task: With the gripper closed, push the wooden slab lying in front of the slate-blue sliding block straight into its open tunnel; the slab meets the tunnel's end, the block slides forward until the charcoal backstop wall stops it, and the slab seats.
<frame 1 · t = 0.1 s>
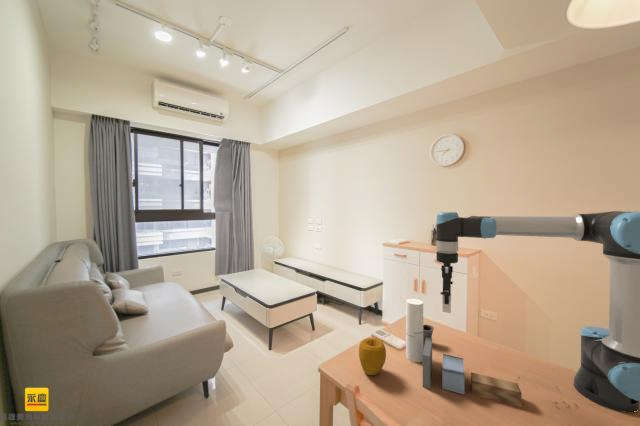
hand: (447, 305, 98), 28 cm above the table, fingers open, 13 cm apart
pipe: (422, 344, 122), on the table
wooden slab: (494, 395, 89), on the table
cylindrical container: (414, 357, 111), on the table
block: (453, 372, 94), point 4 cm above the table, slide at 0.0 cm
wall: (427, 376, 99), on the table
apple: (372, 372, 102), on the table
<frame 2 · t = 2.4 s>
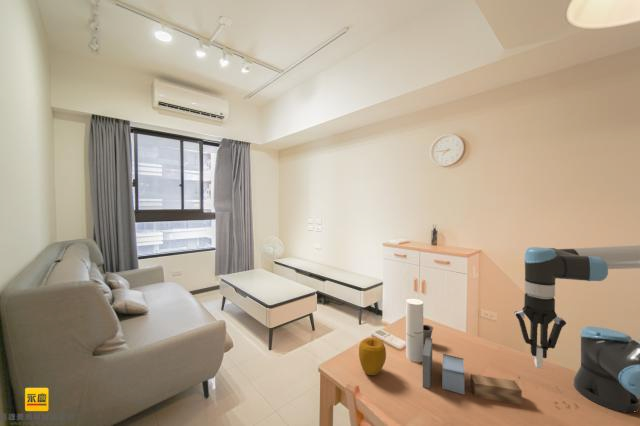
hand: (538, 365, 83), 14 cm above the table, fingers closed
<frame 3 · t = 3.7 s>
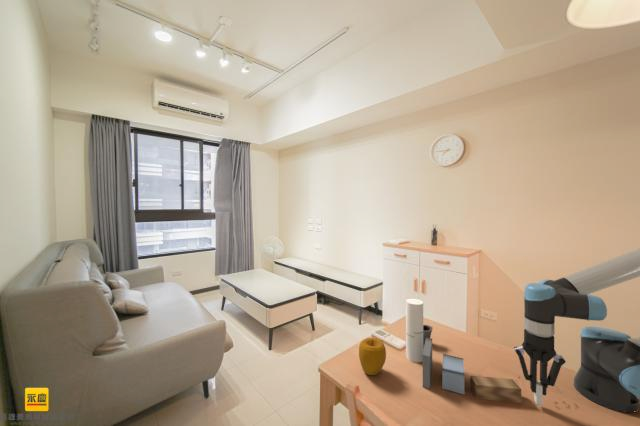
hand: (538, 402, 83), 2 cm above the table, fingers closed
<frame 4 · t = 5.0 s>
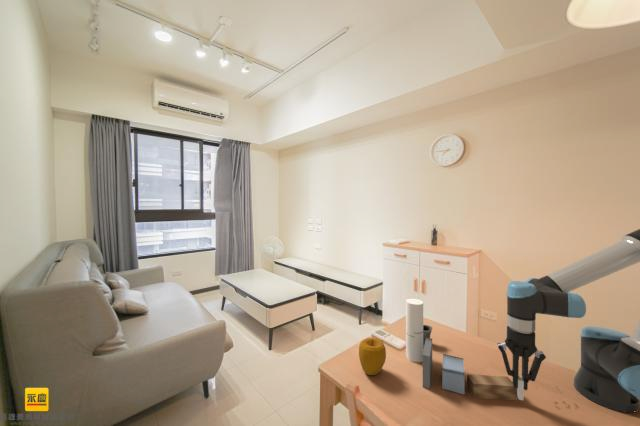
hand: (519, 397, 85), 2 cm above the table, fingers closed
wooden slab: (490, 393, 89), on the table, touching gripper
everything else where it was.
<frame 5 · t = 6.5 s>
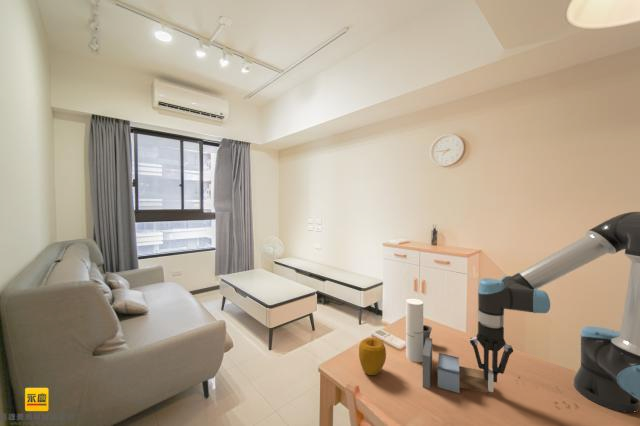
hand: (490, 389, 89), 2 cm above the table, fingers closed
wooden slab: (464, 383, 94), on the table, touching gripper
block: (448, 371, 95), point 4 cm above the table, slide at 1.5 cm
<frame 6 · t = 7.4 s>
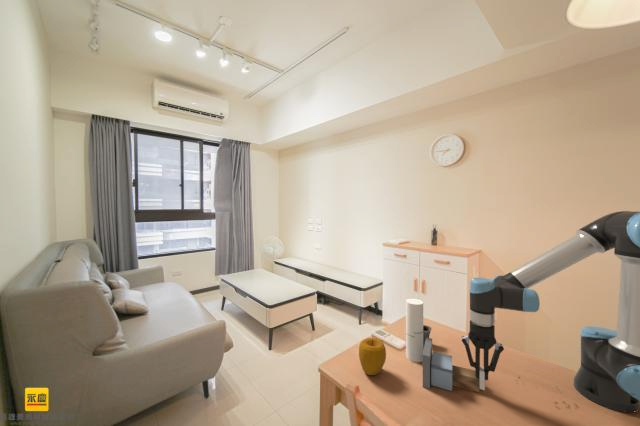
hand: (481, 387, 90), 2 cm above the table, fingers closed
wooden slab: (456, 382, 95), on the table
block: (441, 370, 96), point 4 cm above the table, slide at 3.8 cm
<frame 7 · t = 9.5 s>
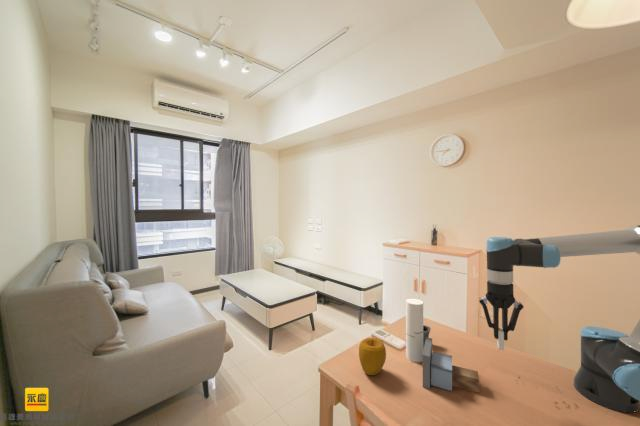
hand: (500, 348, 88), 17 cm above the table, fingers closed
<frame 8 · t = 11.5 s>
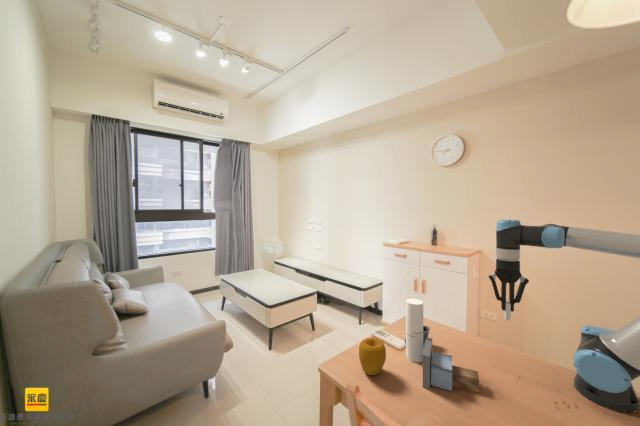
hand: (507, 318, 99), 22 cm above the table, fingers closed
at the end: block slide at 3.8 cm; wooden slab 1.7 cm from the target spot, on the table; wooden slab tilted 0° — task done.
